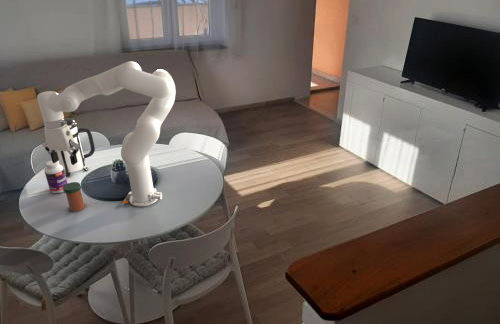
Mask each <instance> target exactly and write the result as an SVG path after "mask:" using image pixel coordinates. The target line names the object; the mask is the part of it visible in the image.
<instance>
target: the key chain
mask: <svg viewBox="0 0 500 324" xmlns="http://www.w3.org/2000/svg"><path fill="white" fill-rule="evenodd" d="M131 196H132V191H131V190H130V191H129V192H128V193H127V195H126V196H125V198H124V199H123V201H122V203H121V204H120V206H124V205H125V204H128V203H129V202H130V201H129V199H130V197H131Z"/></svg>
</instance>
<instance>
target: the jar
mask: <svg viewBox="0 0 500 324" xmlns="http://www.w3.org/2000/svg"><path fill="white" fill-rule="evenodd" d="M65 197H66V199H67V204H68V208H69V211H71V212H79V211H81V210H83V209H85V202H84V198H83V194H82V189H80V190H79V191H77V192H75V193H71V194H67V193H65Z"/></svg>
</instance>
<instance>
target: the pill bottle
mask: <svg viewBox="0 0 500 324" xmlns="http://www.w3.org/2000/svg"><path fill="white" fill-rule="evenodd" d="M44 175H45V178H46V181H47V185H48V188H49V191H50V192H51V193H53V194H60V193H65V192H64V191H63V186H64V185H66V184H68V183H69V182H68V180H67V177H66V172H64V168H63V166H62V165H60V164H59V161H57V162H56V163H53V162H52V159H51V160H48V161H46V162H45V168H44Z"/></svg>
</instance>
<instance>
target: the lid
mask: <svg viewBox="0 0 500 324" xmlns="http://www.w3.org/2000/svg"><path fill="white" fill-rule="evenodd" d="M67 183H68V184H66V185H64V186H63V191H64V192H63V193H64V194H66V193H67V194H71V193H75V192H77V191H79V190H82V186H81V183H80V182H78V181H72V182H67Z"/></svg>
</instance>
